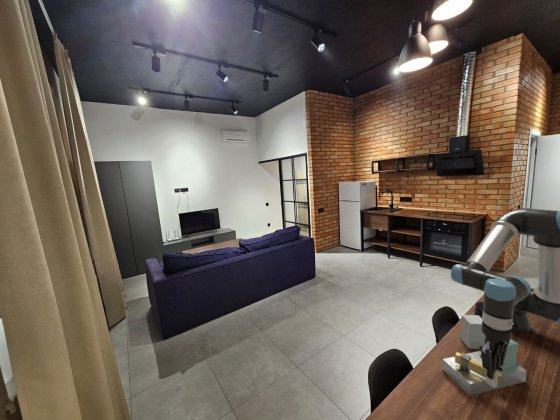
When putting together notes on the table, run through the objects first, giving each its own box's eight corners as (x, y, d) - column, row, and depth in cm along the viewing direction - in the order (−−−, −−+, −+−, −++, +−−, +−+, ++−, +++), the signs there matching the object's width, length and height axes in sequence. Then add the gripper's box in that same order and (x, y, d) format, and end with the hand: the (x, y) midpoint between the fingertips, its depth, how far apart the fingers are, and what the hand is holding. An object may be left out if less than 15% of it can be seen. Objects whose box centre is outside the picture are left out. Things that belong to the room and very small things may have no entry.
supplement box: (487, 350, 107) (489, 325, 105) (468, 348, 109) (470, 324, 107) (477, 338, 114) (478, 315, 112) (459, 337, 116) (461, 314, 114)
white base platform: (492, 358, 103) (493, 345, 102) (525, 381, 91) (526, 368, 90) (442, 369, 99) (443, 356, 98) (469, 395, 87) (470, 381, 86)
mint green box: (496, 352, 99) (498, 331, 98) (515, 366, 93) (518, 342, 91) (482, 355, 98) (484, 334, 97) (500, 369, 91) (503, 346, 90)
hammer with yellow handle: (457, 361, 96) (457, 349, 95) (501, 383, 85) (502, 371, 85) (454, 365, 94) (454, 353, 94) (499, 389, 84) (500, 376, 83)
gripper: (498, 337, 75) (492, 400, 79) (521, 325, 79) (515, 386, 83) (472, 323, 82) (467, 382, 85) (495, 313, 86) (490, 370, 90)
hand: (491, 384), depth 84 cm, fingers closed
